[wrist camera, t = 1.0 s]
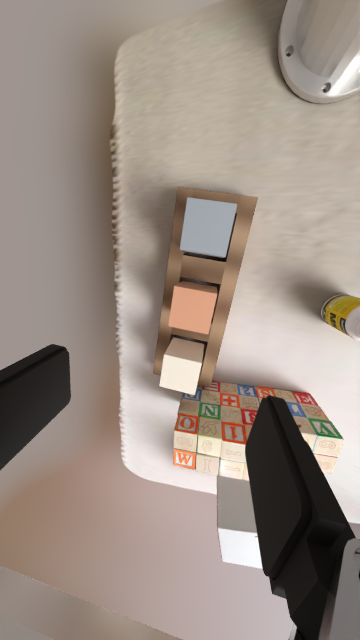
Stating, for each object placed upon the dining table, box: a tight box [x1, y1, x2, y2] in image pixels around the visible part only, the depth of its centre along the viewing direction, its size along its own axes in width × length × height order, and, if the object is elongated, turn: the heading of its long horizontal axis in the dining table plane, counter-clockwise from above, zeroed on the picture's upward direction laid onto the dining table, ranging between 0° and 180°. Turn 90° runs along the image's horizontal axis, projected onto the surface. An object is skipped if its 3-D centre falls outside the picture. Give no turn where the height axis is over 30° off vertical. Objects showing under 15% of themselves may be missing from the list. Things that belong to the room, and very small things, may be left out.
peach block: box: [168, 281, 217, 334], centre depth 26 cm, size 5×5×6 cm
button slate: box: [180, 197, 237, 258], centre depth 23 cm, size 5×5×6 cm
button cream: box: [159, 337, 204, 395], centre depth 28 cm, size 5×5×6 cm
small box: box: [217, 474, 263, 569], centre depth 34 cm, size 8×6×13 cm
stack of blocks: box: [173, 381, 344, 481], centre depth 30 cm, size 21×6×12 cm, turn 89°
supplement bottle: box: [321, 295, 360, 341], centre depth 24 cm, size 5×5×8 cm
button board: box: [153, 187, 258, 387], centre depth 30 cm, size 28×10×3 cm, turn 171°
